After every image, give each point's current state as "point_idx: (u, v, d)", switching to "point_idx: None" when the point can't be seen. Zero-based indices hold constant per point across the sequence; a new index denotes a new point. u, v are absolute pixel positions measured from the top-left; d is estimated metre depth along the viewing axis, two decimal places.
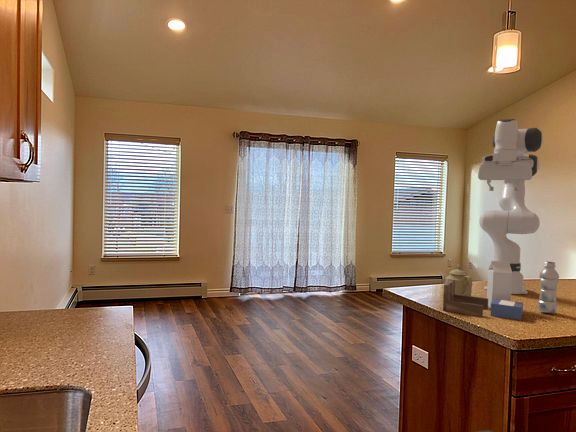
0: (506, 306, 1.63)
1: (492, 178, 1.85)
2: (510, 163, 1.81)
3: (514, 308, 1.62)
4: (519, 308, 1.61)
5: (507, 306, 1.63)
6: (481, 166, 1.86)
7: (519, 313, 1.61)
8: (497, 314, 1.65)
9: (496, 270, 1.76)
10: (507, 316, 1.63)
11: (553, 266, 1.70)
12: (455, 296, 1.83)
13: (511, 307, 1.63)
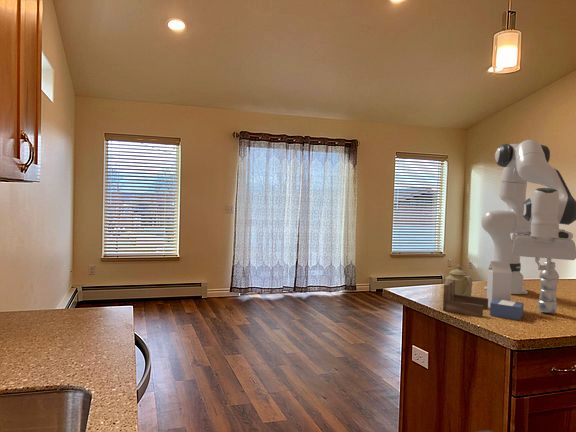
0: (505, 306, 1.64)
1: None
2: None
3: (513, 308, 1.62)
4: (518, 308, 1.61)
5: (506, 306, 1.63)
6: None
7: (518, 313, 1.61)
8: (497, 314, 1.65)
9: (496, 270, 1.76)
10: (506, 316, 1.63)
11: (553, 266, 1.70)
12: (455, 296, 1.83)
13: (510, 307, 1.63)
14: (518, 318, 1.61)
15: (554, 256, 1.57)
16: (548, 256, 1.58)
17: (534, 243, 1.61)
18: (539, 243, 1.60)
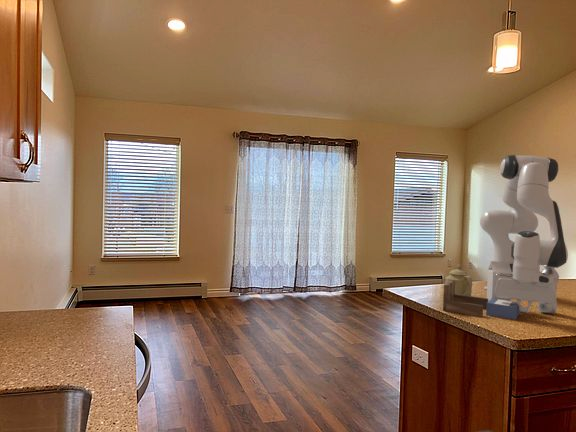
0: (501, 306, 1.64)
1: None
2: None
3: (509, 308, 1.62)
4: (514, 308, 1.61)
5: (502, 306, 1.64)
6: None
7: (514, 312, 1.61)
8: (493, 313, 1.66)
9: (496, 270, 1.76)
10: (502, 315, 1.64)
11: None
12: (455, 296, 1.83)
13: (506, 307, 1.63)
14: (514, 318, 1.62)
15: (534, 299, 1.61)
16: (529, 299, 1.62)
17: (516, 285, 1.64)
18: (520, 286, 1.63)
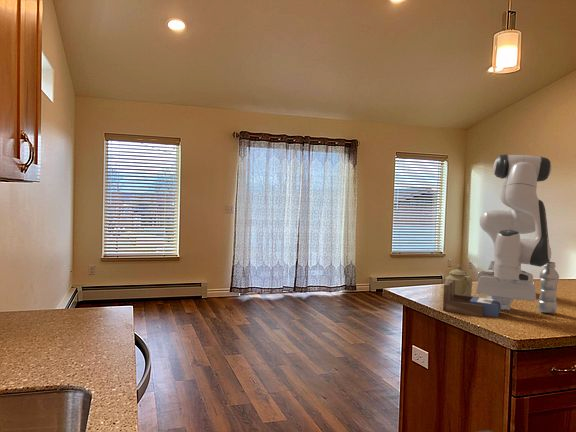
0: (484, 304, 1.66)
1: None
2: None
3: (492, 306, 1.65)
4: (496, 305, 1.64)
5: (485, 304, 1.66)
6: None
7: (497, 310, 1.64)
8: None
9: None
10: (485, 313, 1.66)
11: (553, 266, 1.70)
12: (455, 296, 1.83)
13: (489, 305, 1.66)
14: (496, 315, 1.64)
15: (515, 297, 1.64)
16: (509, 296, 1.65)
17: (497, 283, 1.68)
18: (501, 283, 1.67)
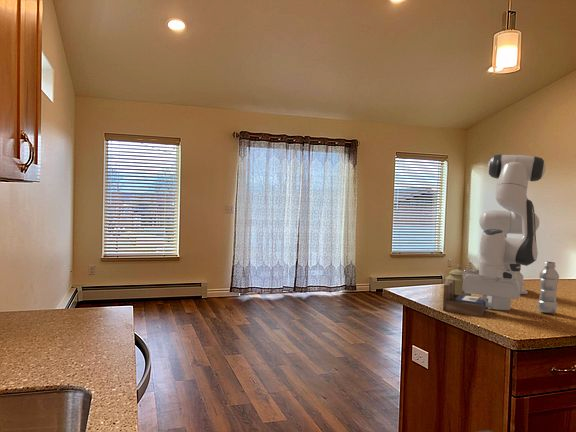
0: (469, 302, 1.69)
1: None
2: None
3: (476, 303, 1.68)
4: (481, 303, 1.67)
5: (470, 302, 1.69)
6: None
7: None
8: None
9: None
10: None
11: (553, 266, 1.70)
12: (455, 296, 1.83)
13: (474, 302, 1.68)
14: None
15: (499, 295, 1.67)
16: (494, 294, 1.68)
17: (481, 281, 1.70)
18: (486, 282, 1.69)
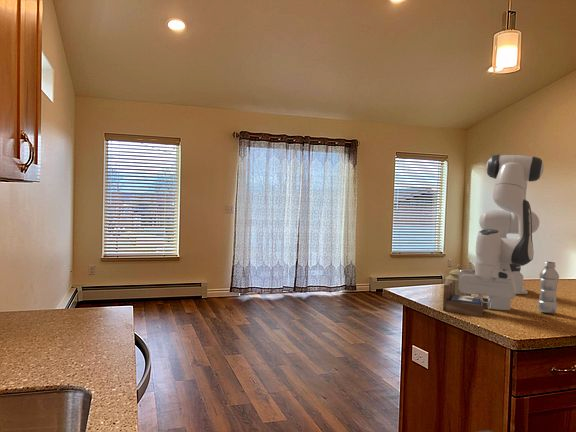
0: (465, 301, 1.70)
1: None
2: None
3: (472, 303, 1.68)
4: (477, 303, 1.68)
5: (466, 301, 1.69)
6: None
7: None
8: None
9: None
10: None
11: (553, 266, 1.70)
12: None
13: (469, 302, 1.69)
14: None
15: (495, 295, 1.68)
16: (490, 294, 1.69)
17: (477, 281, 1.71)
18: (482, 281, 1.70)
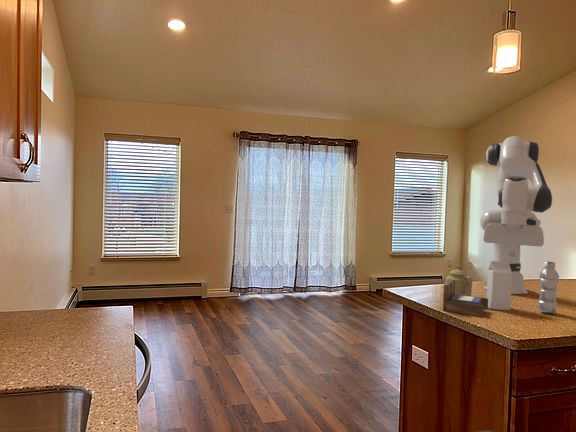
0: (464, 301, 1.70)
1: None
2: None
3: (472, 303, 1.68)
4: (476, 303, 1.68)
5: (465, 301, 1.70)
6: None
7: None
8: None
9: (496, 270, 1.76)
10: None
11: (553, 266, 1.70)
12: None
13: (469, 302, 1.69)
14: None
15: (522, 243, 1.63)
16: (517, 242, 1.63)
17: (504, 230, 1.66)
18: (509, 230, 1.65)
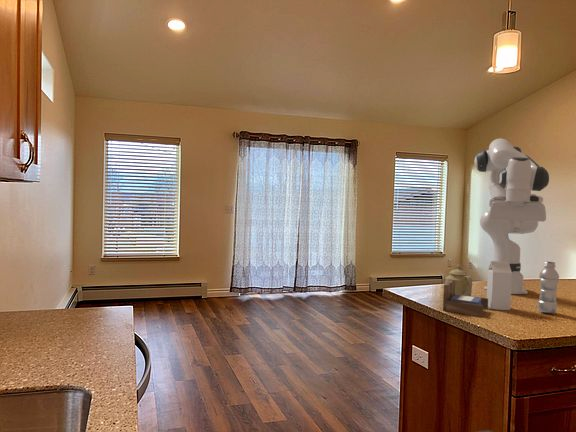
0: (464, 301, 1.70)
1: None
2: None
3: (471, 303, 1.68)
4: (476, 303, 1.67)
5: (465, 301, 1.70)
6: None
7: None
8: None
9: (496, 270, 1.76)
10: None
11: (553, 266, 1.70)
12: None
13: (468, 302, 1.69)
14: None
15: (526, 219, 1.74)
16: (521, 218, 1.75)
17: (508, 207, 1.77)
18: (513, 207, 1.77)
